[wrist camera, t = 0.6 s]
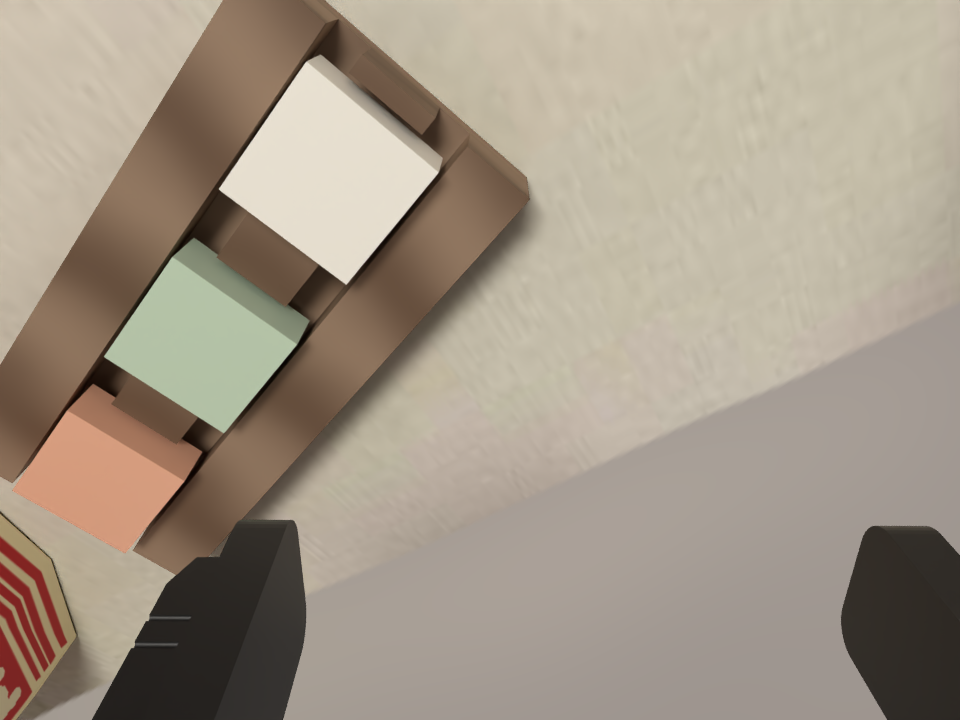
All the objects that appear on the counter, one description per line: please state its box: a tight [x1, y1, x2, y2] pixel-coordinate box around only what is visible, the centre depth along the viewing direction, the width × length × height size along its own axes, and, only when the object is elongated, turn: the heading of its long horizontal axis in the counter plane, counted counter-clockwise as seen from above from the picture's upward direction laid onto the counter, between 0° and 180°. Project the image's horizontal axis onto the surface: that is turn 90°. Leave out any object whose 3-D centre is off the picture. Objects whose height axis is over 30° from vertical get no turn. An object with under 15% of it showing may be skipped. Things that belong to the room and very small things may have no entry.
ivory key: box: [219, 55, 443, 285], centre depth 24 cm, size 5×5×2 cm
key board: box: [0, 0, 530, 575], centre depth 29 cm, size 23×11×3 cm, turn 140°
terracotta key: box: [12, 384, 202, 553], centre depth 30 cm, size 5×5×2 cm
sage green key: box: [104, 238, 310, 433], centre depth 27 cm, size 5×5×2 cm
